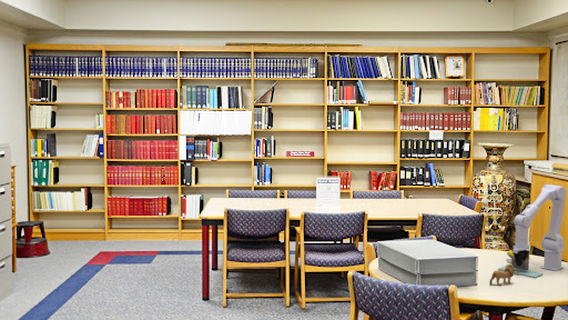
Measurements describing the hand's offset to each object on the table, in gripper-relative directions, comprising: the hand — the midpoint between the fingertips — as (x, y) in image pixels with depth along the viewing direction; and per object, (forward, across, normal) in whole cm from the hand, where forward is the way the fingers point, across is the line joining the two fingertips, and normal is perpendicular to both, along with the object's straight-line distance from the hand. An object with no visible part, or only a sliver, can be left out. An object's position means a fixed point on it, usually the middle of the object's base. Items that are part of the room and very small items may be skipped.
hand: (520, 264), depth 276 cm
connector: (+2, 0, 0) cm, 2 cm away
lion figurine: (+4, +26, +3) cm, 26 cm away
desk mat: (+4, 0, 0) cm, 4 cm away
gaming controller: (+4, -26, -12) cm, 29 cm away
